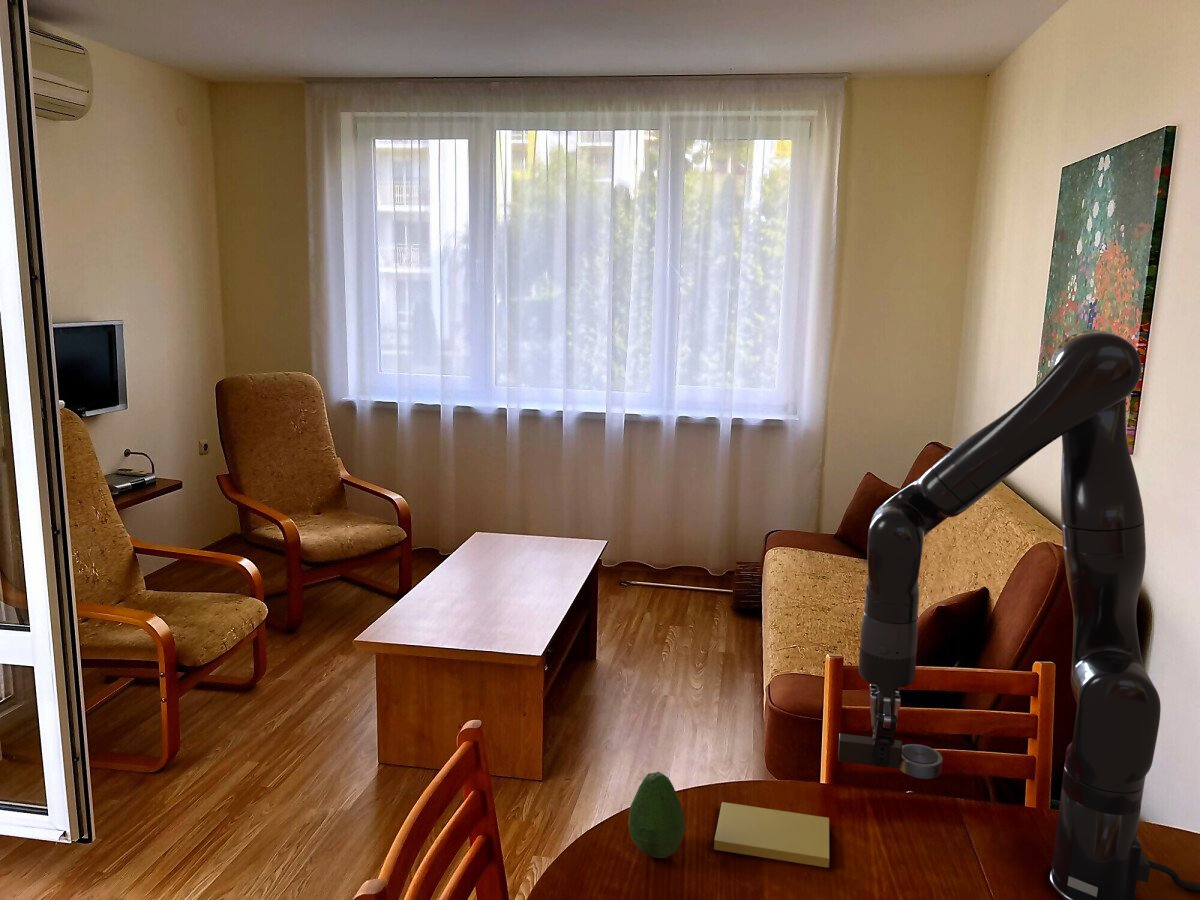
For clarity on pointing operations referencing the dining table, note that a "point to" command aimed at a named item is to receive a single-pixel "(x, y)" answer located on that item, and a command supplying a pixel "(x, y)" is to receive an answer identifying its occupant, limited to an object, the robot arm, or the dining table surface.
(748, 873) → the dining table surface
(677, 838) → the avocado
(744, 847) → the board
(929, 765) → the frying pan
